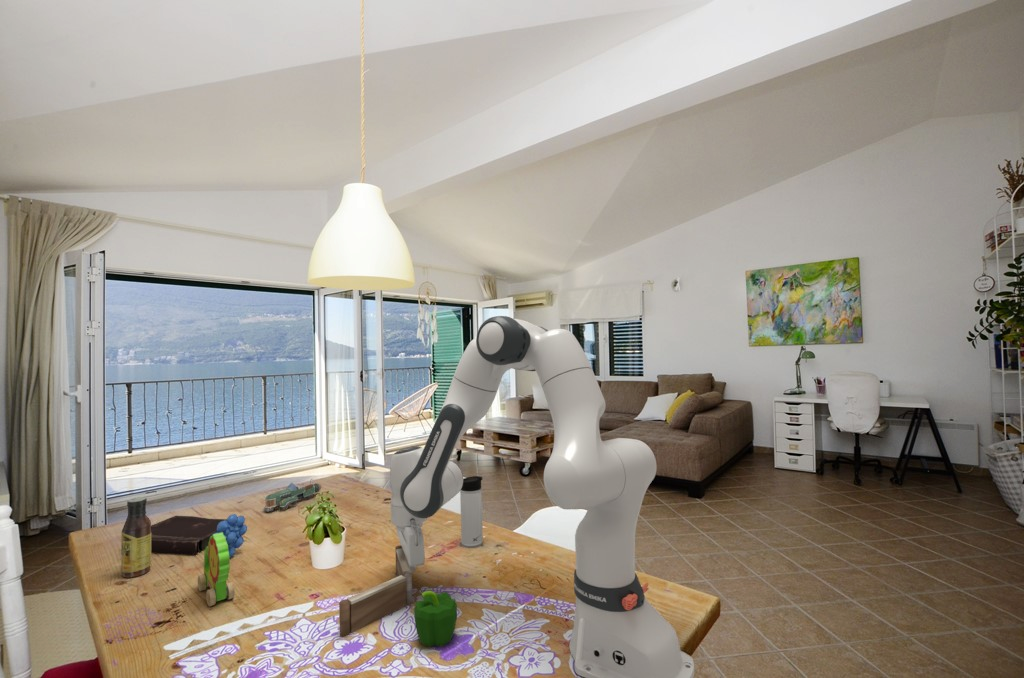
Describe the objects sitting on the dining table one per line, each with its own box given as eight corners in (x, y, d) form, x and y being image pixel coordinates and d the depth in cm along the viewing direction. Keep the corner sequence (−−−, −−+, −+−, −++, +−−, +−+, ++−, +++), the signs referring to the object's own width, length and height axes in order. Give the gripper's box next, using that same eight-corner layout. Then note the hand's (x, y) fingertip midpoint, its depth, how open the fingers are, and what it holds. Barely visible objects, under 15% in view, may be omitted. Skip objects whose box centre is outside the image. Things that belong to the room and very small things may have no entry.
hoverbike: (256, 512, 171) (256, 489, 172) (312, 492, 194) (312, 472, 194) (274, 515, 167) (274, 492, 167) (329, 495, 190) (329, 475, 190)
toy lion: (196, 588, 116) (195, 527, 116) (221, 580, 119) (220, 520, 120) (211, 613, 104) (210, 544, 105) (238, 603, 108) (237, 537, 108)
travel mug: (480, 550, 133) (479, 480, 134) (458, 549, 134) (457, 479, 135) (486, 541, 139) (484, 474, 140) (465, 540, 141) (463, 473, 141)
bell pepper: (459, 627, 97) (458, 578, 97) (456, 652, 88) (454, 599, 89) (418, 628, 96) (417, 580, 97) (411, 655, 88) (410, 601, 88)
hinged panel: (403, 570, 121) (402, 544, 121) (412, 599, 107) (411, 570, 107) (395, 572, 120) (395, 546, 120) (403, 600, 106) (402, 571, 106)
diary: (195, 559, 134) (194, 541, 134) (122, 554, 139) (122, 537, 139) (243, 532, 153) (242, 517, 153) (178, 529, 157) (177, 514, 157)
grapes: (235, 548, 139) (235, 507, 140) (252, 550, 137) (252, 509, 137) (198, 565, 128) (197, 521, 129) (216, 568, 126) (215, 524, 126)
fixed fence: (414, 604, 105) (413, 574, 105) (342, 639, 93) (342, 605, 93) (409, 600, 107) (408, 571, 107) (338, 635, 94) (337, 602, 94)
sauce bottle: (119, 574, 124) (119, 499, 125) (148, 565, 129) (148, 493, 129) (123, 582, 120) (123, 504, 120) (153, 573, 124) (153, 498, 125)
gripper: (430, 524, 107) (432, 585, 107) (414, 499, 126) (416, 551, 126) (402, 529, 105) (404, 592, 104) (391, 503, 124) (392, 555, 123)
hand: (410, 569), depth 115 cm, fingers closed
